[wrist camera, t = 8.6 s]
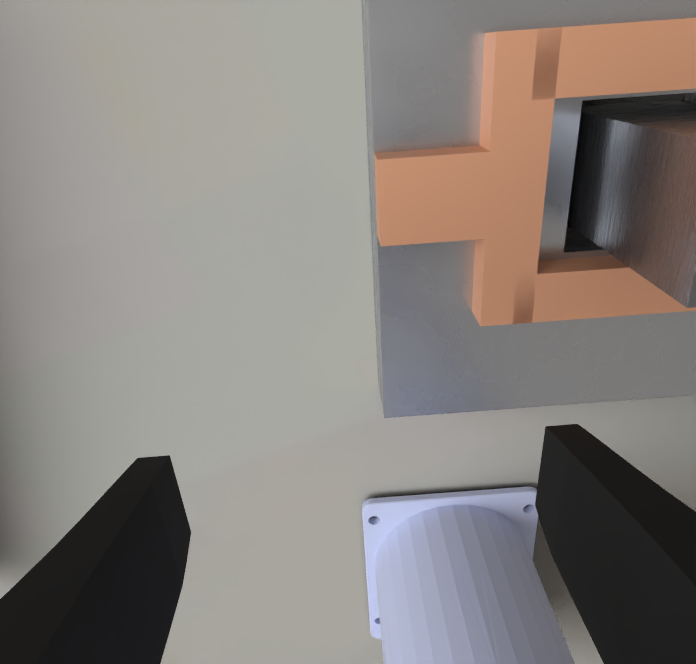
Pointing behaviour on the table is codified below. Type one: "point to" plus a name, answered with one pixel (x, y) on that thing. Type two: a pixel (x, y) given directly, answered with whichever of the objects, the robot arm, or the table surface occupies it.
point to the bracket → (532, 170)
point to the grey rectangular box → (640, 189)
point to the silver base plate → (458, 256)
